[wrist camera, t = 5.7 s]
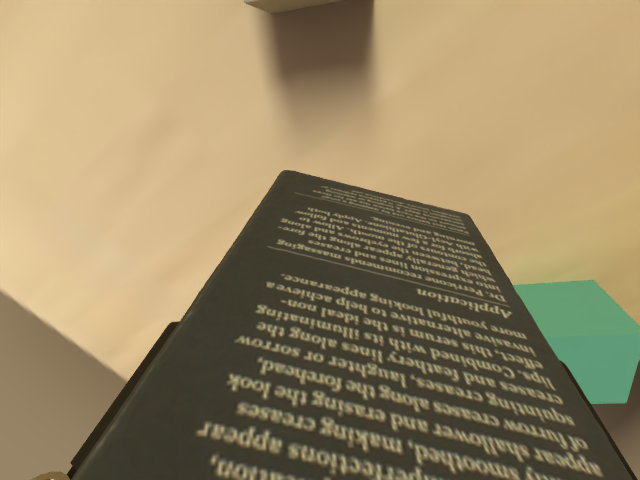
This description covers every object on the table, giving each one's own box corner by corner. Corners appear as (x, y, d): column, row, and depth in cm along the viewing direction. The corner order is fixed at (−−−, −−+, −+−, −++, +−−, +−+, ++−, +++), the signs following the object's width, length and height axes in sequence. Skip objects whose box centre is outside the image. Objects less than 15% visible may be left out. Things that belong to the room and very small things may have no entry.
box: (392, 394, 14) (440, 1053, 5) (247, 358, 14) (20, 950, 5) (476, 208, 11) (1277, 1415, 1) (280, 160, 11) (-359, 1013, 1)
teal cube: (592, 279, 23) (646, 333, 19) (580, 341, 26) (626, 403, 21) (507, 284, 24) (539, 338, 20) (502, 344, 26) (530, 404, 22)
